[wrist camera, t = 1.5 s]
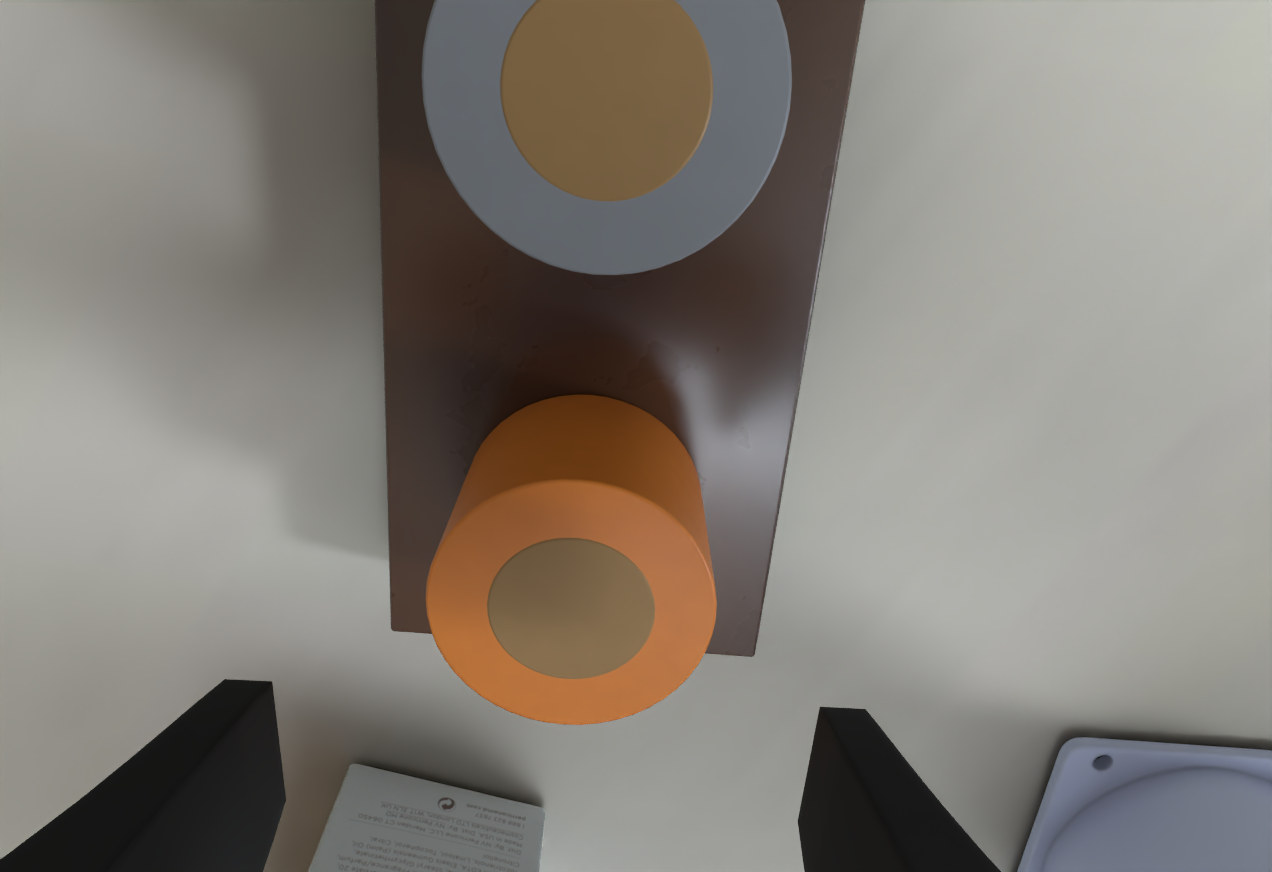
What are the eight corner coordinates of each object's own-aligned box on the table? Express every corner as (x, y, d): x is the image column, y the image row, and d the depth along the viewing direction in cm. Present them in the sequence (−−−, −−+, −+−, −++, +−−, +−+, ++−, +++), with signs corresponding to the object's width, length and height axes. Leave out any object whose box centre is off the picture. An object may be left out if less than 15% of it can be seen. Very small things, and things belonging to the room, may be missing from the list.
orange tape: (714, 403, 17) (734, 492, 14) (688, 611, 19) (699, 736, 16) (466, 383, 17) (423, 468, 14) (464, 594, 19) (425, 717, 16)
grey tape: (776, -65, 14) (821, -103, 11) (736, 238, 16) (763, 290, 13) (473, -95, 14) (418, -144, 11) (469, 214, 16) (421, 261, 12)
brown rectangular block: (851, -108, 16) (888, -136, 14) (742, 592, 22) (754, 658, 20) (408, -153, 16) (368, -188, 14) (416, 568, 22) (390, 632, 19)
